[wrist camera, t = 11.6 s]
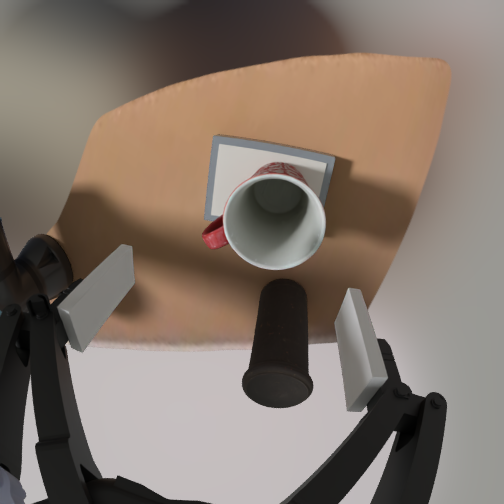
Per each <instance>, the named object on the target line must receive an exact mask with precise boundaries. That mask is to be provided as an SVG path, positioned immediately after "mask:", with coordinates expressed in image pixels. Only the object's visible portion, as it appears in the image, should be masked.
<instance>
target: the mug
mask: <svg viewBox="0 0 504 504" xmlns="http://www.w3.org/2000/svg"><path fill="white" fill-rule="evenodd" d="M325 230H326V216H325V211H324V208H323V205H322V203H321V201H320V199H319V197H318V196H317V195H316V193H315V192H314V191H313V190H312V189H311V188H310V187H309V185H308V184H307V182H306V180H305V179H304V177H303V176H302V174H301V173H300V172H299V171H298V170H297V169H296V168H295V167H293V166H292V165H289V164H287V163H283V162H273V163H269V164H266V165H264V166H263V167H261V168H260V169H259V170H257V171H256V173H255V174H253V175H252V176H251V177H250V178H249V179H247V180H245V181H244V182H242V183H241V184H240V185H239V186H237V187H236V188H235V189H234V191H233V192H232V193H231V195H230V196H229V198H228V199H227V202H226V204H225V207H224V211H223V214H222V215H221V216H220V217H218V218H217V219H216V220H215V221H213V222H212V223H211V224H210V225H209V226H208V227H207V228H206V229H205V230H204V232H203V233H202V237H203V240H204V242H205V243H206V245H207V246H208V247H209V248H210V249H218V248H221V247H223V246H225V245H227V244H230V245H231V247H232V248H233V249H234V251H235V252H236V253H237V254H238V255H239V256H240V257H241V258H243V259H244V260H245V261H247V262H249V263H250V264H252V265H254V266H257V267H260V268H264V269H269V270H283V269H289V268H292V267H295V266H298V265H300V264H302V263H303V262H305V261H306V260H308V259H309V258H310V257H311V256H312V255H313V254H314V253H315V252H316V251H317V250H318V248H319V247H320V245H321V243H322V241H323V238H324V235H325Z"/></svg>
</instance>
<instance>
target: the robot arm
mask: <svg viewBox="0 0 504 504" xmlns="http://www.w3.org/2000/svg"><path fill="white" fill-rule="evenodd" d="M1 221H2V219H1V218H0V504H25V503H24V499H25V497H26V493H25V491H24V489H23V488H22V485H21V483H20V482H19V480H20V475H21V464H22V439H23V425H24V415H25V406H26V399H27V392H28V386H29V380H30V375H31V385H32V396H33V405H34V413H35V419H36V426H37V432H38V437H39V442H38V443H36V445H35V449H36V455H37V460H38V464H39V468H40V472H41V476H42V479H43V483H44V486H45V489H46V492H47V496H48V498H47V499H45V500H42V501H39V502H36V503H33V504H211V503H206V502H201V501H188V500H170V499H166V498H164V497H162V496H161V495H159V494H157V493H155V492H154V491H152V490H150V489H148V488H147V487H145V486H143V485H141V484H139V483H136V482H133V481H131V480H128V479H126V478H123V477H121V476H117V478H116V479H114V478H102V476H101V473H100V471H99V470H98V468H97V466H96V464H95V463H94V461H93V458H92V455H91V452H90V449H89V446H88V443H87V440H86V437H85V433H84V430H83V426H82V423H81V419H80V416H79V412H78V407H77V403H76V399H75V394H74V390H73V385H72V380H71V374H70V368H69V362H68V355H67V349H66V346H65V344H66V343H67V341H68V340H69V343H70V345H71V348H73V349H75V350H77V351H80V352H84V350H85V349H86V347H87V346H88V345H89V343H90V342H91V340H92V339H93V338H94V336H95V335H96V334H97V332H98V331H99V329H100V328H101V327H102V325H103V324H104V323H105V321H106V320H107V319H108V317H109V316H110V315H111V313H112V312H113V311H114V309H115V308H116V307H117V305H118V304H119V303H120V302H121V300H122V299H123V298H124V296H125V295H126V294H127V293H128V291H129V290H130V289H131V288H132V286H133V285H134V284H135V279H134V266H133V251H132V246H129V245H124V244H121V245H120V246H119V247H118V248H117V249H116V250H115V251H114V252H112V253H111V254H110V255H109V256H108V257H107V258H106V259H105V260H104V261H103V262H102V263H101V264H100V265H98V266H97V267H96V268H95V269H94V270H93V271H92V272H91V273H90V274H89V275H88V276H87V277H86V278H85V279H79V280H77V281H75V282H73V274H72V269H71V266H70V263H69V260H68V258H67V256H66V254H65V253H64V251H63V250H62V248H61V247H60V246H59V244H58V243H57V242H56V241H55V240H53V239H52V238H51V237H49V236H47V235H44V234H38V235H36V236H34V237H32V238H31V239H30V240H29V241H28V242H27V243H26V245H25V246H24V248H23V249H22V251H21V252H20V254H19V255H18V257H17V258H16V259H15V260H14V259H13V256H12V253H11V250H10V247H9V244H8V242H7V238H6V236H5V232H4V229H3V226H2V222H1ZM72 282H73V283H72ZM57 297H58V298H57ZM54 298H57V299H56V300H55V301H54V302H53V303H52V304H51V305H50V301H49V300H52V299H54ZM334 324H335V330H336V336H337V342H338V348H339V355H340V361H341V368H342V375H343V382H344V390H345V398H346V407H347V411H353V412H361V411H362V410H363V409H364V408H365V407H366V405H367V410H368V413H367V414H366V415H365V416H364V417H363V418H362V419H361V420H360V421H359V423H358V425H357V426H356V427H355V428H354V430H353V431H352V432H351V433H350V435H349V436H348V437H347V438H346V439H345V440H344V441H343V443H342V444H341V445H340V446H339V447H338V448H337V449H336V450H335V452H334V453H333V454H332V455H331V456H330V457H329V458H328V459H327V460H326V461H325V462H324V463H323V464H322V465H321V466H320V467H319V468H318V470H317V471H315V472H314V473H313V475H311V476H310V477H309V478H308V479H307V480H306V481H305V482H304V483H303V484H302V485H301V486H300V487H299V488H298V489H297V490H295V491H294V492H293V493H292V494H291V495H290V496H288V498H286V499H285V500H284V501H283V502H281V503H280V504H338V503H339V502H340V501H341V500H342V499H343V498H344V497H345V496H346V494H347V493H348V492H349V491H350V490H351V489H352V487H353V486H354V485H355V484H356V482H357V481H358V480H359V479H360V477H361V476H362V475H363V474H364V472H365V471H366V470H367V468H368V467H369V466H370V464H371V463H372V462H373V460H374V459H375V458H376V456H377V455H378V453H379V452H380V450H381V449H382V448H383V446H384V445H385V443H386V441H387V440H388V438H389V437H390V435H391V434H392V432H393V431H397V434H396V436H395V440H394V443H393V446H392V449H391V452H390V455H389V458H388V461H387V464H386V467H385V469H384V472H383V475H382V477H381V480H380V482H379V485H378V487H377V489H376V492H375V494H374V497H373V499H372V501H371V503H370V504H428V503H429V500H430V496H431V493H432V489H433V485H434V481H435V477H436V473H437V469H438V464H439V459H440V454H441V448H442V442H443V436H444V428H445V421H446V412H447V402H446V400H445V398H444V397H443V396H442V395H441V394H439V393H436V392H432V393H429V394H428V395H427V396H426V397H421V396H418V395H415V394H412V391H411V389H410V387H409V386H407V385H406V384H405V383H402V382H401V379H400V375H399V372H398V369H397V366H396V362H395V361H394V360H395V359H394V357H393V355H392V354H393V353H392V350H391V347H390V345H389V344H388V343H387V342H386V340H385V339H377V338H376V335H375V332H374V329H373V326H372V322H371V319H370V316H369V314H368V310H367V307H366V304H365V302H364V299H363V296H362V293H361V290H360V289H354V288H348V290H347V293H346V295H345V298H344V300H343V303H342V305H341V308H340V310H339V313H338V315H337V317H336V320H335V322H334Z"/></svg>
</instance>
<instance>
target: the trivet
mask: <svg viewBox="0 0 504 504" xmlns="http://www.w3.org/2000/svg"><path fill="white" fill-rule="evenodd" d="M273 162H283V163H287V164H289V165H292V166H293V167H295V168H296V169H297V170H298V171H299V172H300V173H301V174H302V176H303V177H304V179H305V180H306V182H307V184H308V185H309V187H310V188H311V189H312V190H313V191H314V192H315V193H316V195H317V196H318V197H319V199H320V201H321V203H322V205H323V208H324V205H325V201H326V197H327V193H328V188H329V184H330V180H331V175H332V171H333V167H334V162H335V157H334V156H333V155H331V154H327V153H323V152H318V151H314V150H309V149H304V148H300V147H295V146H290V145H284V144H279V143H273V142H268V141H262V140H255V139H249V138H242V137H235V136H228V135H220V134H218V135H214V136H213V141H212V149H211V157H210V166H209V175H208V184H207V194H206V204H205V214H204V220H209V221H215V220H216V219H217V218H218V217H220V216H221V215H222V214H223V211H224V207H225V204H226V202H227V199H228V198H229V196H230V195H231V193H232V192H233V191H234V189H235V188H236V187H237V186H239V185H240V184H241V183H242V182H244V181H245V180H247V179H249V178H250V177H251V176H252V175H253V174H255V173H256V171H257V170H259V169H260V168H261V167H263V166H264V165H266V164H269V163H273Z"/></svg>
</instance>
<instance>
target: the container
mask: <svg viewBox="0 0 504 504" xmlns="http://www.w3.org/2000/svg"><path fill="white" fill-rule="evenodd" d="M308 372H309V371H308V312H307V297H306V292H305V290H304V289H303V288H302V286H301V285H299V284H298V283H296V282H294V281H292V280H288V279H279V280H275V281H272V282H270V283H269V284H267V285H266V286H265V287H264V289H263V290H262V292H261V295H260V301H259V308H258V315H257V322H256V329H255V335H254V341H253V347H252V353H251V358H250V364H249V369H248V370H247V371H246V372H245V374H244V376H243V379H242V387H243V390H244V392H245V393H246V395H247V396H248V397H249V398H250V399H252V400H253V401H255V402H256V403H258V404H260V405H263V406H266V407H272V408H287V407H291V406H295V405H298V404H300V403H302V402H303V401H305V400H306V399H307V398H308V397H309V396H310V395H311V393H312V391H313V381H312V379H311V377H310V376H309V373H308Z"/></svg>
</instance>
